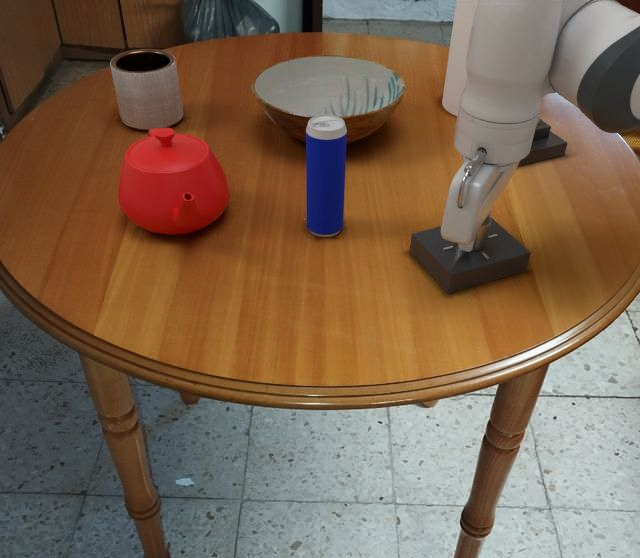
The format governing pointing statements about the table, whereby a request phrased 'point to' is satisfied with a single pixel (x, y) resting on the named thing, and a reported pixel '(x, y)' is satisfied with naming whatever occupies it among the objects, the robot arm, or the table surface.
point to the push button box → (544, 145)
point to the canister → (458, 54)
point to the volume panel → (469, 258)
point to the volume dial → (482, 235)
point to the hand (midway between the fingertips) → (473, 237)
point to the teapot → (172, 183)
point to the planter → (147, 88)
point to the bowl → (328, 93)
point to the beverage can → (325, 174)
